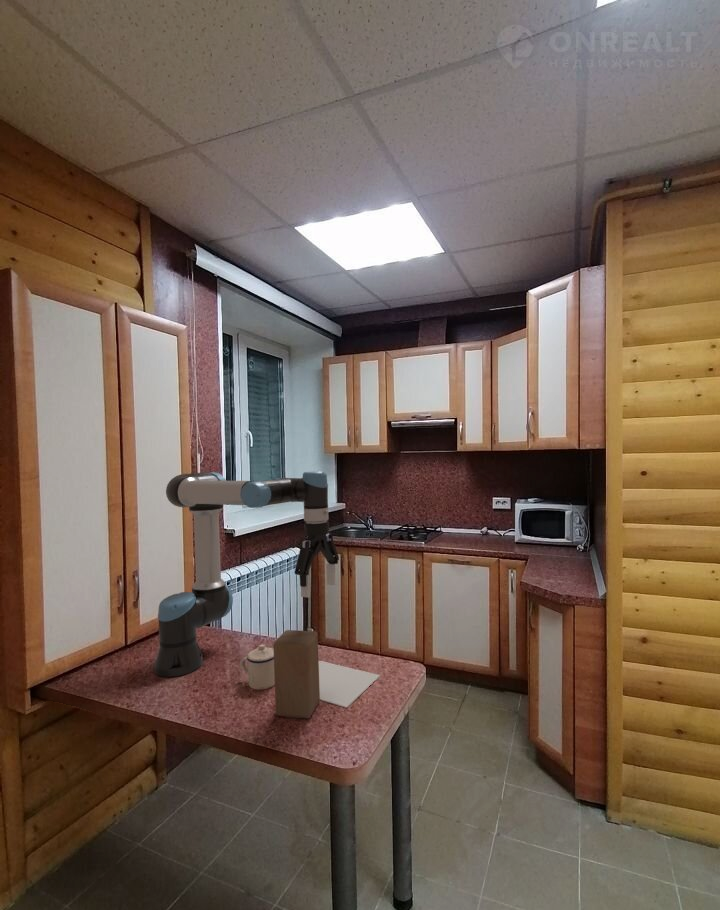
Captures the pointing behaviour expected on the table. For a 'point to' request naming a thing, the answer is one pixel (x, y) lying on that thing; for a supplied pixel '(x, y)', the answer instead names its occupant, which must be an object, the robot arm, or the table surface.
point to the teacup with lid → (260, 667)
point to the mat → (342, 683)
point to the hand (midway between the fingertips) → (318, 590)
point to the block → (296, 673)
